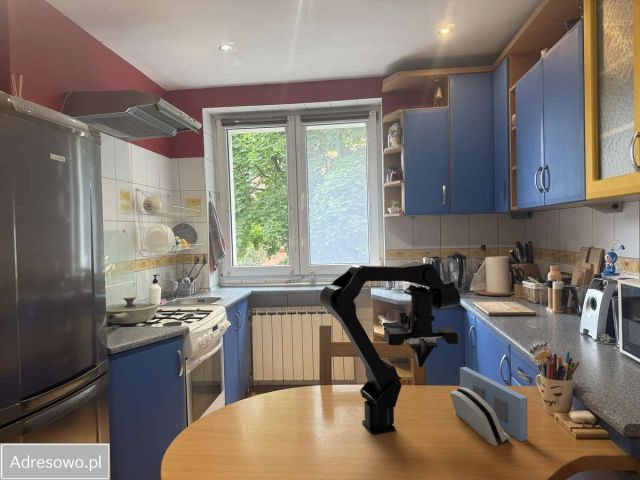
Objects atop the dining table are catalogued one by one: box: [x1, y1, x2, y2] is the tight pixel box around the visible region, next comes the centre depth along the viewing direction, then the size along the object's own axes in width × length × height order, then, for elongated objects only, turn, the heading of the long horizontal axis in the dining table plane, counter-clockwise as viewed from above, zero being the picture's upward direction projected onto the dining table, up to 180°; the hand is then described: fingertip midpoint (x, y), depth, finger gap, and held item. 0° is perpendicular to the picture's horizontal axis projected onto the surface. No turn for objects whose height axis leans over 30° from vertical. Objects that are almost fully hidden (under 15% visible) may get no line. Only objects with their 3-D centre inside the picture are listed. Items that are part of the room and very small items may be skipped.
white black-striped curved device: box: [449, 387, 512, 446], centre depth 98 cm, size 17×5×10 cm, turn 10°
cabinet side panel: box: [459, 366, 528, 442], centre depth 102 cm, size 2×22×10 cm, turn 17°
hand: (419, 366), depth 106 cm, fingers closed
